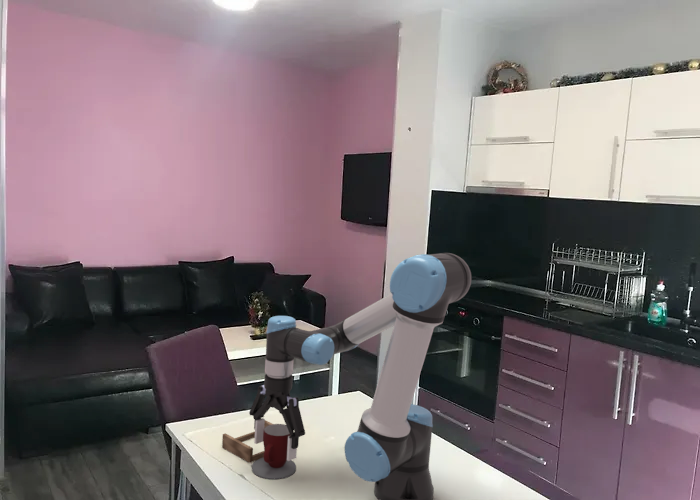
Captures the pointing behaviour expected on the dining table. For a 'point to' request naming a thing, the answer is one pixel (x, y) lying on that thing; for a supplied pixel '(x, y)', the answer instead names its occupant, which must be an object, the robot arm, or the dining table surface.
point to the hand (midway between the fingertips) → (274, 450)
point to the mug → (275, 444)
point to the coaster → (273, 470)
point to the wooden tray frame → (242, 446)
